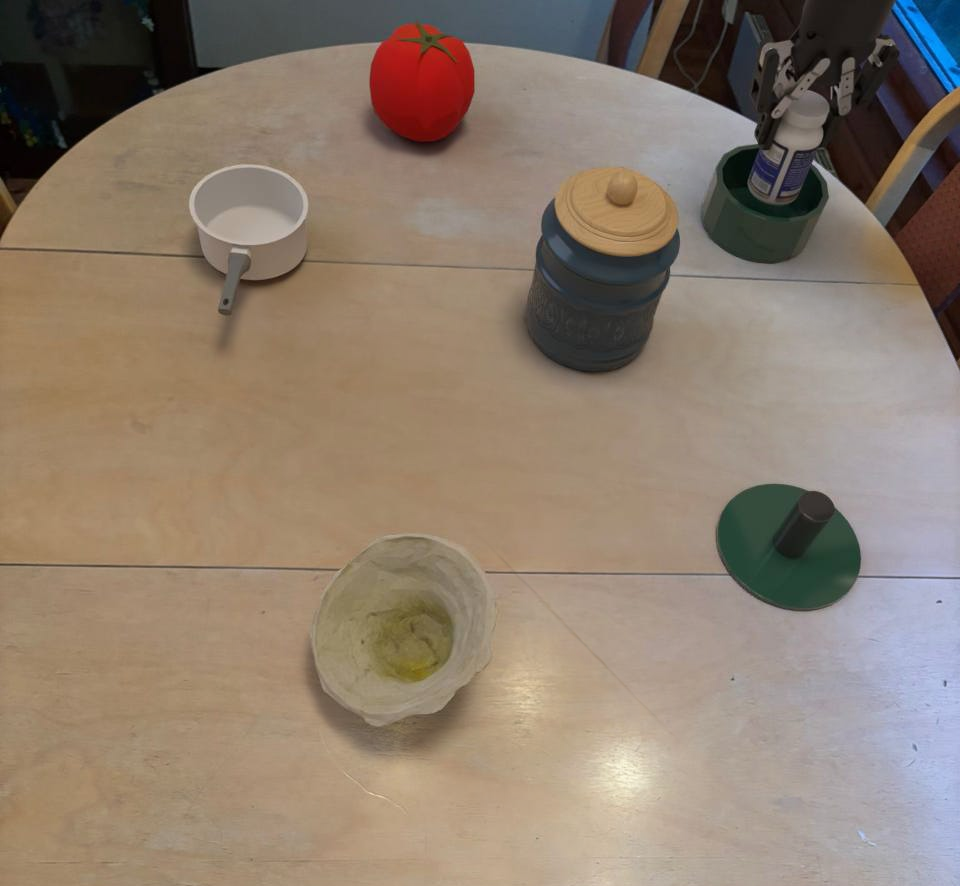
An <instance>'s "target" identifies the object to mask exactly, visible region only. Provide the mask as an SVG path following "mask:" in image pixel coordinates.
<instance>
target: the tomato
mask: <svg viewBox="0 0 960 886" xmlns="http://www.w3.org/2000/svg"><path fill="white" fill-rule="evenodd" d="M414 20H415V23H407V24H404V25H400V26H398V27H396V28H395V29H394V31H393V33H392V34H391V35H390V36H389V38H388V39H387V40H383V41H382V42H381V43H380V45H378V47H377V48H376V50H375V53H374V55H373V58H372V61H371V63H370V70H369V78H368V79H369V81H368V82H369V84H368V85H369V93H370V101H371V106H372V109H373V110H374V113H375V115H376V116H377V117H378V118H379V120H380V121H381V122H382V123H383V125H384V126H385V127H387V128H388V129H390V130H391V131H392V132H394V133H396V134H397V135H399V136H400V137H403V138H406V139H409V140H412V141H414V142H436V141H438V140H442V139H444V138H446V137H447V136H449V134H450V133H451V132H453V131H454V130H455V129H456V127H457V126H458V125H459V123H461V121H462V119H463V118H464V117H465V116H466V114H467V113H468V111H469V108H470V106H471V103H472V100H473V98H474V96H475V92H476V91H475V90H476V89H475V88H476V87H475V84H476V83H475V79H476V78H475V67H474V63H473V60H472V56H471V53H470V50H469V49H468V48H467V46H466V45H465V42H464V41H463V39H461V38H457V37H454V35H448V34H445V33H443V32H441V31H440V30H439V29H438V28H436V27H435V26H433V25H431V24H421V23H420V22H419V21H418V20H417V18H414Z"/></svg>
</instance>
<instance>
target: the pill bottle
mask: <svg viewBox="0 0 960 886" xmlns="http://www.w3.org/2000/svg"><path fill="white" fill-rule="evenodd" d="M829 109H830V107H829V103H828V100H827V99H826V98H825V97H824V96H823V95H821V94H819V93H817V92H815V91H813V90H810V89H807V90H806V92H805V93H804V94H803V95H802V96H801V98H800V99H799V100H794V101H793V102H792V103H791V104H790V106H789V107H788V108H787V109H786V110H785V112H784V113H783V114H782V115H781V118H782V120H781V122H780V125H779V127H778V130H777V132H776V135H775V137H774V140H773V142H772V145H771V147H770V149H769V150H761V149H759V151H758V154H757V157H756V159H755V162H754V165H753V167H752V170H751V173H750V175H749V179H748V188H749V190H750V192H751V194H752V195H753V196H754V197H755V198H756V199H758V200H759V201H761V202H763V203H766V204H769V205H775V206H781V205H786V204H789V203H791V202H793V201H794V200H795V199H796V198H797V196H798V194H799V192H800V190H801V188H802V185H803V183H804V181H805V178H806V176H807V174H808V171H809V169H810V167H811V164H813V162H814V160H815V157H816V155H817V152H818V151H819V149H820V148H819V146H820V144H821V141H822V138H823V128H822V125H823V124H824V122H825V121H826V118H827V115H828V113H829Z"/></svg>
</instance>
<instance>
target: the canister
mask: <svg viewBox="0 0 960 886" xmlns="http://www.w3.org/2000/svg"><path fill="white" fill-rule="evenodd" d="M540 222H541V223H540V229H541V236H540V237H539V240H538V242H537V244H536V248H535V265H534V270H533V276H532V279H531V280H532V281H531V286H530V288H529V290H528V292H527V298H526V302H525V303H526V304H525V317H526V326H527V330H528V333H529V335H530V337H531V339H532V341H533V343H534V344H535V345H536V346H537V348H538V349H539V350H541V352H542V353H544V354H545V355H546V356H547V357H549V358H550V359H552V360H553V361H555V362H557V363H558V364H561V365H563V366H566V367H568V368H571V369H575V370H580V371H586V372H587V371H588V372H603V371H610V370H614V369H617V368H620V367H622V366H624V365H626V364H628V363H629V362H631V361H632V360H633V359H635V358H636V357H637V356H638V355H639V354H640V352H641V350H642V349H643V347H644V346H645V345H646V343H647V342H648V340H649V338H650V335H651V332H652V330H653V326H654V322H655V315H656V312H657V309H658V307H659V304H660V301H661V299H662V295H663V293H664V291H665V289H666V288H667V286H668V284H669V281H670V277H671V267H672V266H673V264H675V261H676V260H677V258H678V256H679V253H680V248H681V237H680V232H679V229H678V225H679V212H678V209H677V206H676V203H675V202H674V200H673V199H672V197H671V195H670V194H669V193H668V192H667V190H665V188H663V187H662V186H661V185H660V184H658V182H655V180H652V179H651V178H650V177H648V176H646V175H645V174H642V173H641V172H638V171H636V170H634V169H630V168H625V167H621V166H620V167H619V166H601V167H591V168H587V169H583V170H580V171H578V172H576V173H574V174H572V175H571V176H569V177H568V178H566V179H565V180H564V181H563V182H562V183H561V185H560V186H559V187H558V189H557V192H556V194H555V196H554V197H553V198H552V199H551V200H550V201H549V202H548V204H547V205H546V207H545V209H544V210H543V214H542V217H541V221H540Z"/></svg>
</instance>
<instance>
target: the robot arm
mask: <svg viewBox="0 0 960 886" xmlns="http://www.w3.org/2000/svg"><path fill="white" fill-rule="evenodd" d="M896 2H897V0H805V2H804V3H803V4H804V5H803V7H802V11H801V17H800V21H799V25H798V27H797V28H796V29H795V31H794V32H793V33H792V34H791V35H790V37H789V39H787V40H782V41H777V42H773V40H772V39H771V38H770V37H764V38H763V39H761V41H760V42H759V44H758V48H757V53H756V57H755V64H754V68H753V73H752V78H751V84H750V88H749V93H748V95H749V97H750V100H751V101H752V103H753V105H754V107H755V109H756V111H757V113H759V114H760V115H759V118H758V120H757V123H756V126H755V128H754V131H753V132H754V133H753V134H754V138H755V140H756V142H757V144H759V146H760V149H761V150H769V149H770V147H771V145H772V142H773V140H774V137H775V135H776V132H777V130H778V127H779V125H780V122H781V120H782V118H781V115H782V114H783V113H784V112H785V110H786V109H787V108H788V107H789V106H790V104H791V103H792V102H793V101H794V100H799V99H800V98H801V96H802V95H803V94H804V93H805V92H806V90H809V88H811V89H813V88H817V87H820V86H823V87H826V88H830V102H828V101H827V102H828V103H829V107H830V109H829V113H828V115H827V118H826V121H825V122H824V124H823V125H822V128H823V138H822V141H821V144H820V146H819V148H818V149H823V148H827V146H828V144H829V143H830V142H832V141H833V140H834V138H835V136H836V134H837V132H838V130H839V128H840V126H841V124H842V121H843V119H844V117H845V115H848V114H849V113H850V112H851V110H852V109H855V108H858V109H859V110H864V109H865V108H867V107H868V106H869V105H870V103H871V102H872V100H873V99H874V98H875V95H876V94H877V92H878V91H879V89H880V87H881V86H882V84H883V82H884V81H885V79H886V78H887V76H888V74H889V73H890V72H891V70H892V68H893V67H894V65H895V63H896V62H897V60H898V59H899V57H900V56H901V55H900V54H901V52H900V50H899V48H898V46H897V45H896V43H895V41H894V40H893V38H892V37H891V35H890V34H883V35H882V36H881V37H880V38H878V37H879V36H880V35H881V33H882V32H883V30H884V28H885V26H886V23H887V22H888V19H889V17H890V14H891V12H892V10H893V7H894V6H895V4H896ZM788 57H789V60H788V61H787V62H786V63H785V65H784V66H783V63H784V61H785V60H786V59H787V58H788ZM863 63H864V64H863ZM862 64H863V66H861V65H862ZM859 66H861V69H860V71H859V73H858V74H857V76H856V77H855V70H856V69H857V68H859ZM777 73H778V75H777ZM776 76H777V77H776ZM795 76H796V78H797V81H795V79H794V77H795ZM776 78H777V79H776ZM854 78H855V79H854Z"/></svg>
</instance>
